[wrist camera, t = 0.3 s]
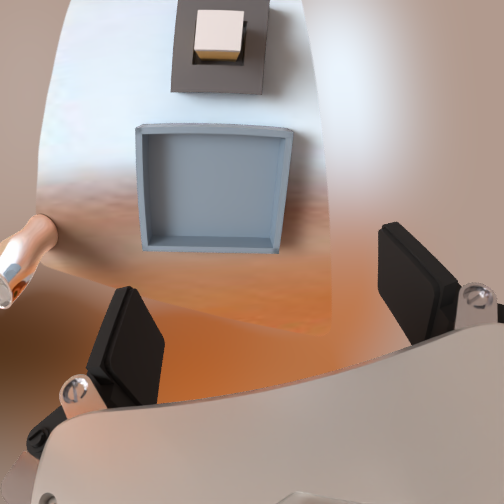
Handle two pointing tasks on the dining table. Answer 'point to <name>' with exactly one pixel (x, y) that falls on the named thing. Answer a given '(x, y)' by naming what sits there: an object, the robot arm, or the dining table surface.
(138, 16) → the dining table surface
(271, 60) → the dining table surface
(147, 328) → the robot arm
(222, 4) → the block
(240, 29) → the block
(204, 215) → the parts tray
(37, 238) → the beer glass
